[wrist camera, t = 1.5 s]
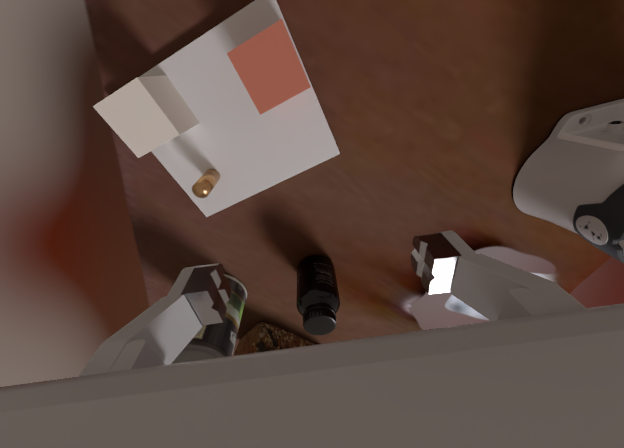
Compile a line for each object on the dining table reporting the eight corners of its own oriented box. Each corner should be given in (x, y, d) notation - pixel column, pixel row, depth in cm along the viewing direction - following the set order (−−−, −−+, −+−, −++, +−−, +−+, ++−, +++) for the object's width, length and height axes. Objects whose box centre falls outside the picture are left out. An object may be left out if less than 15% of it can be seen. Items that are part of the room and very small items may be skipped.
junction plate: (272, -8, 25) (271, -11, 24) (339, 151, 34) (340, 153, 33) (112, 97, 29) (106, 98, 29) (208, 213, 38) (206, 217, 38)
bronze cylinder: (214, 166, 33) (201, 180, 29) (223, 178, 34) (212, 194, 30) (202, 172, 34) (188, 187, 30) (211, 184, 35) (199, 200, 31)
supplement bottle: (289, 265, 45) (286, 323, 35) (320, 247, 43) (326, 303, 33) (311, 286, 48) (314, 345, 38) (341, 270, 46) (352, 328, 36)
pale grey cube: (166, 75, 28) (137, 77, 23) (199, 123, 30) (179, 134, 25) (129, 99, 29) (92, 106, 24) (164, 143, 32) (138, 158, 27)
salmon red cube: (285, 28, 26) (281, 18, 21) (308, 83, 29) (310, 87, 24) (240, 55, 27) (226, 53, 22) (267, 106, 30) (260, 114, 25)
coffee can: (253, 279, 46) (236, 353, 35) (240, 313, 52) (222, 387, 40) (196, 266, 44) (158, 339, 32) (189, 302, 49) (153, 378, 37)
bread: (236, 339, 57) (224, 387, 48) (263, 315, 52) (255, 363, 44) (299, 365, 64) (299, 411, 55) (327, 346, 59) (331, 392, 51)
